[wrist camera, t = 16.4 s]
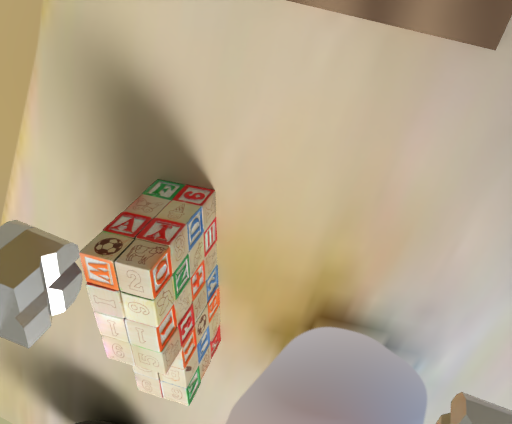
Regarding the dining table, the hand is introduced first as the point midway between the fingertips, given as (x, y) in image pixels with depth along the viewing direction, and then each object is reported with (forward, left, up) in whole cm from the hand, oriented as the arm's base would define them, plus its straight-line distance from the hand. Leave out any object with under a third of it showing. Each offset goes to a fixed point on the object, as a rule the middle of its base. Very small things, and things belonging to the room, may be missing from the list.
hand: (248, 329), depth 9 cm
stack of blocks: (+12, +28, -28) cm, 41 cm away
